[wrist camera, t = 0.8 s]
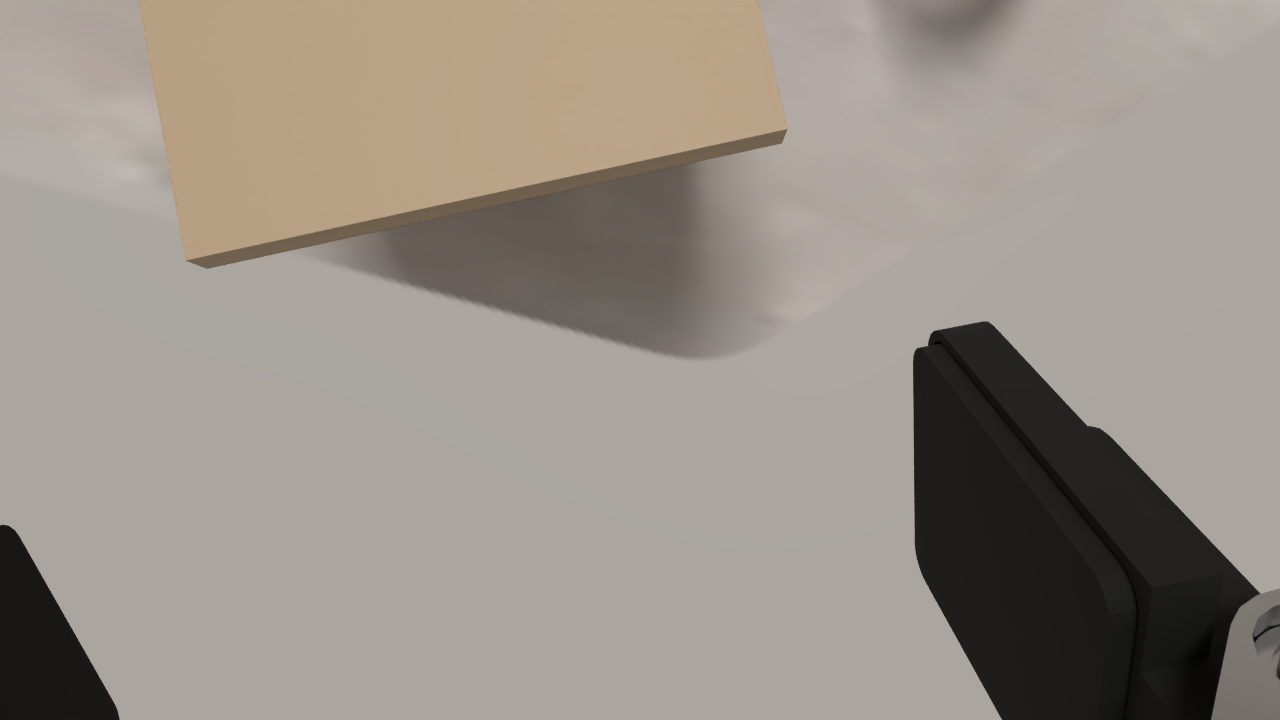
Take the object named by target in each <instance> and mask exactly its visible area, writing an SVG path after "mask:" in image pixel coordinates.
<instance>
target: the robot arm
mask: <svg viewBox="0 0 1280 720" xmlns="http://www.w3.org/2000/svg"><path fill="white" fill-rule="evenodd" d="M913 394H914V497H915V498H914V499H915V500H914V503H915V550H916V556H917V560H918V564H919V567H920V570H921V573H922V575H923V578H924V580H925V582H926V583H927V585H928V586H929V589H930V591H931V592H932V594H933V596H934V598H935V599H936V601H937V603H938V605H939V607H940V609H941V610H942V612H943V614H944V616H945V618H946V619H947V621H948V623H949V625H950V627H951V628H952V630H953V632H954V634H955V636H956V637H957V639H958V641H959V643H960V645H961V647H962V648H963V650H964V652H965V654H966V656H967V657H968V659H969V661H970V663H971V664H972V666H973V668H974V670H975V672H976V674H977V675H978V677H979V679H980V681H981V683H982V684H983V686H984V688H985V690H986V691H987V693H988V695H989V697H990V699H991V701H992V702H993V704H994V706H995V708H996V710H997V711H998V713H999V715H1000V717H1001V719H1002V720H1280V589H1276V590H1273V591H1269V592H1266V593H1263V594H1260V593H1259V592H1258V591H1257V590H1256V589H1255V588H1254V586H1253V585H1251V584H1250V582H1249V581H1248V580H1247V579H1246V578H1245V577H1244V576H1243V575H1242V574H1241V573H1240V572H1239V571H1238V570H1237V569H1236V568H1235V567H1234V566H1233V565H1232V563H1231V562H1230V561H1229V560H1228V559H1227V558H1226V557H1225V556H1224V555H1223V554H1222V553H1221V552H1220V551H1219V550H1218V549H1217V548H1216V547H1215V546H1214V545H1213V544H1212V542H1210V540H1209V539H1208V538H1207V537H1206V536H1205V535H1204V534H1203V533H1202V532H1201V531H1200V530H1199V529H1198V528H1197V527H1196V526H1195V525H1194V524H1193V523H1192V522H1191V521H1190V519H1189V518H1188V517H1187V516H1186V515H1185V514H1184V513H1183V512H1182V511H1181V510H1180V509H1179V508H1178V507H1177V506H1176V505H1175V504H1174V503H1173V502H1172V501H1171V500H1170V499H1169V498H1168V496H1167V495H1166V494H1164V492H1163V491H1162V490H1161V489H1160V488H1159V487H1158V486H1157V485H1156V484H1155V483H1154V482H1153V481H1152V480H1151V479H1150V478H1149V477H1148V476H1147V474H1146V473H1144V471H1143V470H1142V469H1141V468H1140V467H1139V466H1138V465H1137V464H1136V463H1135V462H1134V461H1133V460H1132V459H1131V458H1130V457H1129V456H1128V455H1127V453H1126V452H1125V451H1124V450H1123V449H1122V448H1121V447H1120V446H1119V445H1118V444H1117V443H1116V442H1115V441H1114V440H1113V439H1112V438H1111V437H1110V436H1109V435H1108V434H1106V433H1105V432H1104V431H1103V430H1101V429H1100V428H1096V427H1091V426H1087V425H1086V424H1085V423H1084V422H1083V421H1082V420H1081V419H1080V418H1079V417H1078V416H1077V414H1076V413H1075V412H1074V411H1073V410H1072V409H1071V408H1070V407H1069V406H1068V405H1067V404H1066V403H1065V402H1064V401H1063V400H1062V398H1060V396H1059V395H1058V394H1057V393H1056V392H1055V391H1054V390H1053V389H1052V388H1051V387H1050V386H1049V385H1048V383H1047V382H1046V381H1045V380H1044V379H1043V378H1042V377H1041V376H1040V375H1039V374H1038V373H1037V372H1036V371H1035V370H1034V368H1033V367H1032V366H1031V365H1030V364H1029V363H1028V362H1027V361H1026V360H1025V359H1024V358H1023V357H1022V356H1021V355H1020V354H1019V353H1018V351H1017V350H1016V349H1015V348H1014V347H1013V346H1012V345H1011V344H1010V343H1009V342H1008V341H1007V340H1006V339H1005V337H1004V336H1003V335H1002V334H1001V333H1000V332H999V331H998V330H997V329H996V328H995V327H994V326H993V325H992V324H990V323H989V322H979V323H973V324H968V325H963V326H957V327H953V328H947V329H942V330H937V331H934V332H933V333H932V334H931V335H930V338H929V343H928V346H926V347H921V348H917V349H916V350H915V353H914V359H913ZM0 720H119V715H118V711H117V708H116V706H115V704H114V702H113V700H112V699H111V697H110V695H109V693H108V691H107V690H106V688H105V686H104V685H103V683H102V681H101V679H100V678H99V676H98V674H97V672H96V670H95V669H94V667H93V665H92V663H91V662H90V660H89V658H88V657H87V655H86V653H85V651H84V649H83V648H82V646H81V644H80V642H79V641H78V639H77V637H76V635H75V634H74V632H73V630H72V628H71V627H70V625H69V623H68V621H67V619H66V618H65V616H64V614H63V612H62V611H61V609H60V607H59V605H58V604H57V602H56V600H55V598H54V597H53V595H52V593H51V591H50V590H49V588H48V586H47V585H46V583H45V581H44V579H43V577H42V576H41V574H40V572H39V571H38V569H37V567H36V565H35V563H34V562H33V560H32V558H31V556H30V554H29V553H28V551H27V549H26V548H25V546H24V544H23V542H22V541H21V539H20V537H19V536H18V534H17V533H16V531H15V530H14V529H12V528H11V527H9V526H7V525H0Z"/></svg>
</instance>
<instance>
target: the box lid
mask: <svg viewBox="0 0 1280 720" xmlns="http://www.w3.org/2000/svg"><path fill="white" fill-rule="evenodd" d="M138 1H139V6H140V12H141V17H142V23H143V28H144V34H145V39H146V45H147V50H148V56H149V61H150V67H151V73H152V78H153V84H154V89H155V95H156V100H157V106H158V111H159V117H160V122H161V128H162V133H163V139H164V144H165V150H166V155H167V161H168V166H169V172H170V177H171V183H172V189H173V194H174V200H175V205H176V211H177V216H178V222H179V227H180V233H181V238H182V244H183V249H184V255H185V259H186V261H189V262H191V263H194V264H196V265H199V266H202V267H204V268H207V269H208V268H212V267H217V266H222V265H226V264H231V263H236V262H240V261H244V260H249V259H254V258H258V257H263V256H268V255H272V254H277V253H281V252H286V251H291V250H295V249H300V248H304V247H309V246H313V245H318V244H323V243H327V242H332V241H336V240H341V239H345V238H350V237H355V236H359V235H364V234H368V233H373V232H378V231H382V230H387V229H391V228H396V227H400V226H405V225H410V224H414V223H419V222H423V221H428V220H433V219H437V218H442V217H446V216H451V215H455V214H460V213H465V212H469V211H474V210H478V209H483V208H488V207H492V206H497V205H501V204H506V203H510V202H515V201H520V200H524V199H529V198H533V197H538V196H542V195H547V194H552V193H556V192H561V191H565V190H570V189H575V188H579V187H584V186H588V185H593V184H597V183H602V182H607V181H611V180H616V179H620V178H625V177H630V176H634V175H639V174H643V173H648V172H652V171H657V170H662V169H666V168H671V167H675V166H680V165H685V164H689V163H694V162H698V161H703V160H707V159H712V158H717V157H721V156H726V155H730V154H735V153H739V152H744V151H749V150H753V149H758V148H762V147H767V146H772V145H776V144H781V143H782V141H783V139H784V136H785V134H786V131H787V125H786V121H785V117H784V113H783V108H782V104H781V100H780V95H779V91H778V87H777V82H776V78H775V74H774V70H773V65H772V61H771V57H770V52H769V48H768V44H767V40H766V35H765V31H764V27H763V22H762V18H761V14H760V9H759V5H758V1H757V0H138Z"/></svg>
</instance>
